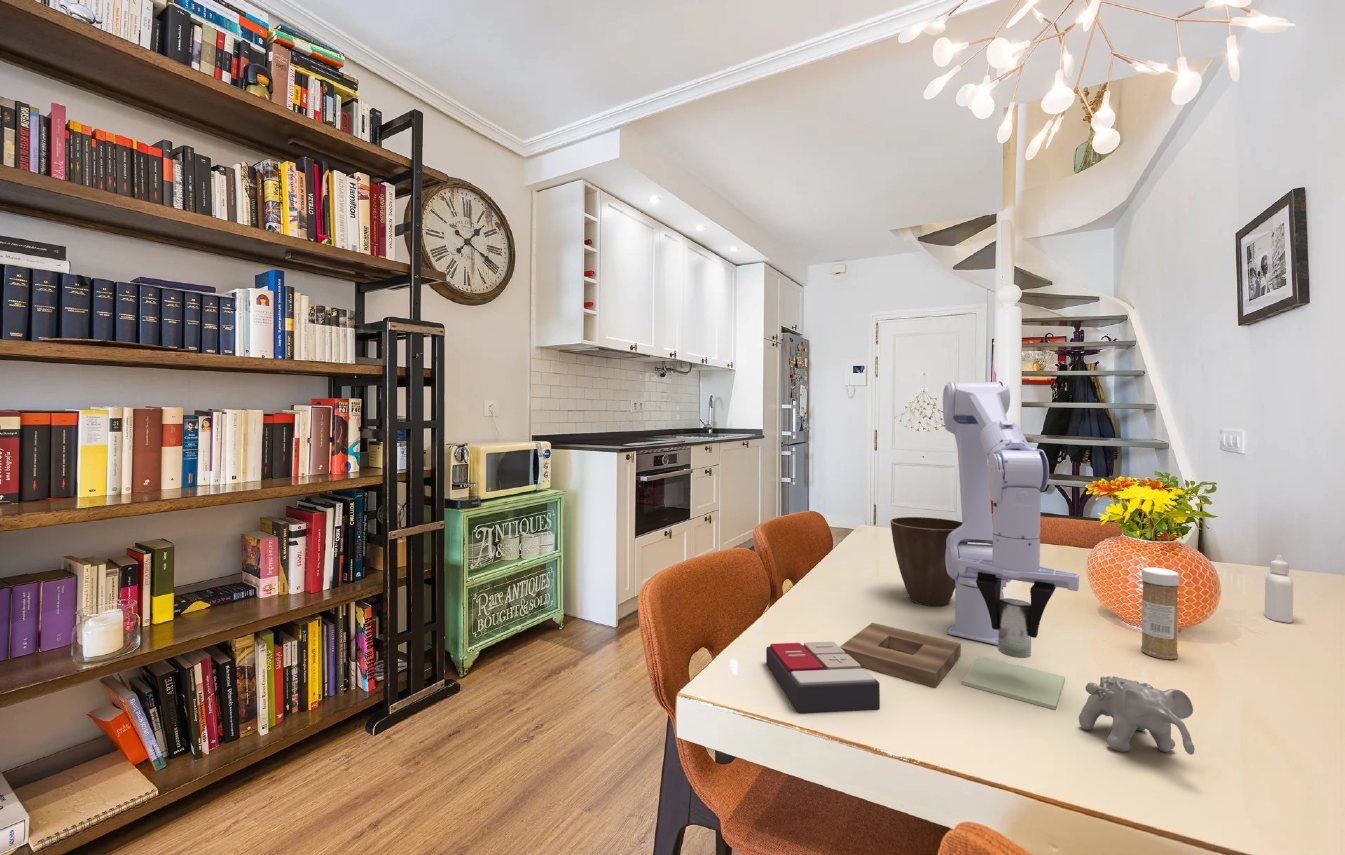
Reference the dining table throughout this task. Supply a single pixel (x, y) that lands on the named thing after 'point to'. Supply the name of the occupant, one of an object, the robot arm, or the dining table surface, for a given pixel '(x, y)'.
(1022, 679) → the sage pad
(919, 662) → the walnut holder
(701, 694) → the dining table surface
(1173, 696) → the elephant statuette
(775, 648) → the calculator
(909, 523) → the plant pot
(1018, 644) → the metal peg
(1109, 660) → the dining table surface
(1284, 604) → the eye dropper bottle
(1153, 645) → the spice jar
